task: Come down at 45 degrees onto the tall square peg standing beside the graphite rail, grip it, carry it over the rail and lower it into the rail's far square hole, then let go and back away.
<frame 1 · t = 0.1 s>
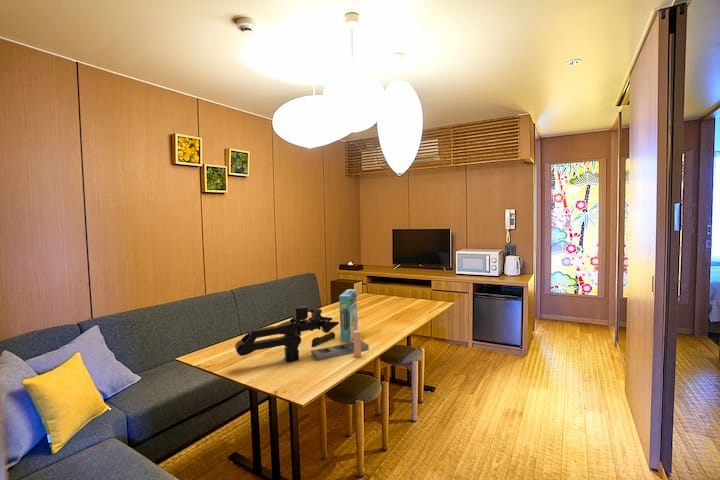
hand: (335, 320, 206), 17 cm above the table, tool horizontal, fingers open, 9 cm apart
game box: (349, 336, 231), on the table
rail: (340, 352, 204), on the table
peg: (357, 355, 199), on the table
hand tool: (323, 343, 221), on the table
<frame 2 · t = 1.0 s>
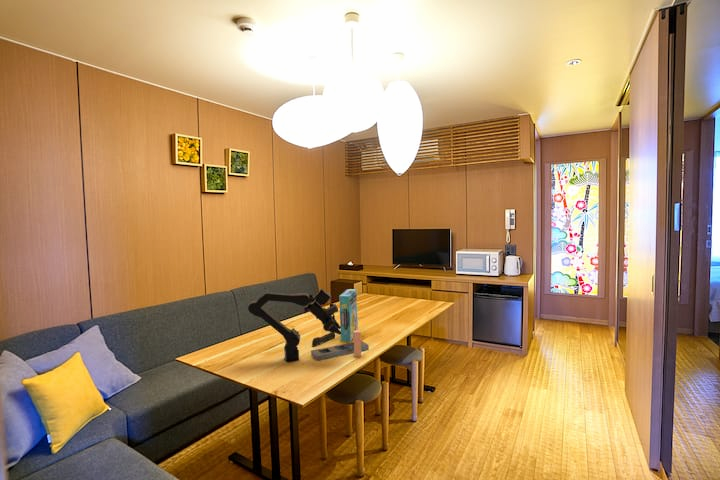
hand: (340, 330, 198), 14 cm above the table, tool tilted 45°, fingers open, 9 cm apart
nothing on the table moved.
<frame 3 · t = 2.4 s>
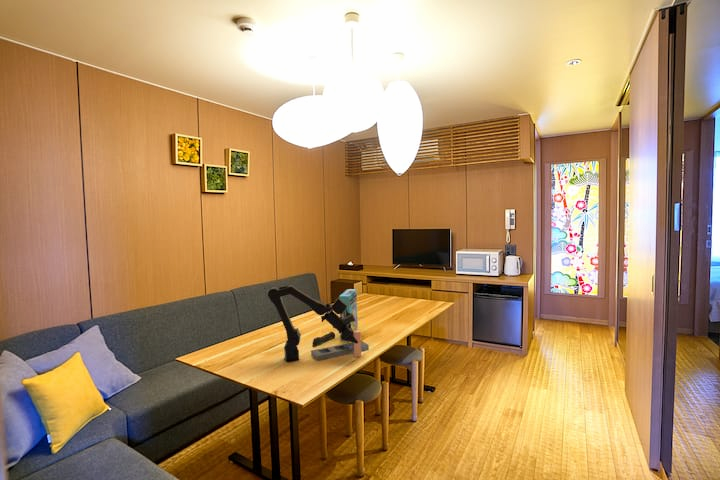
hand: (357, 339, 199), 8 cm above the table, tool tilted 45°, fingers open, 9 cm apart
nothing on the table moved.
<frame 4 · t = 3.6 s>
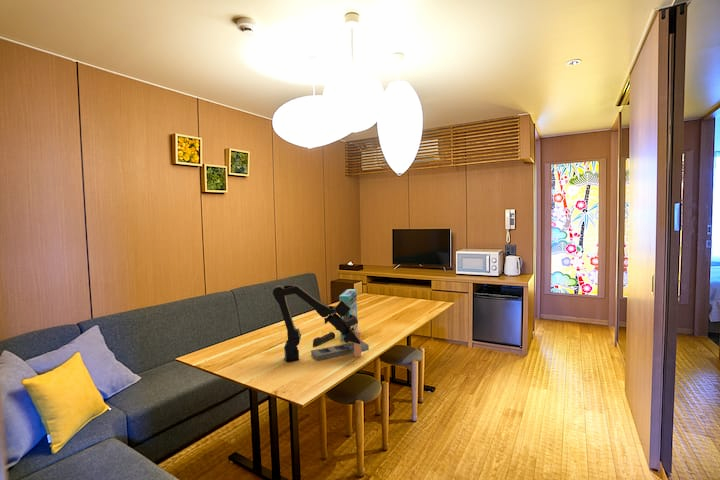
hand: (359, 342, 199), 7 cm above the table, tool tilted 45°, fingers closed on peg, 3 cm apart
peg: (357, 355, 199), on the table, touching gripper
everything else where it was.
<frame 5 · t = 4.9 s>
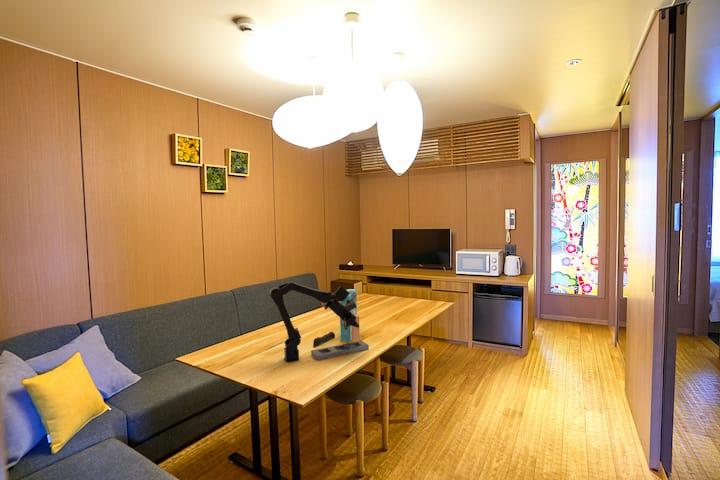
hand: (357, 325, 206), 14 cm above the table, tool tilted 45°, fingers closed on peg, 3 cm apart
peg: (355, 339, 206), point 6 cm above the table, touching gripper
everything else where it was.
when the fingers open (8 cm above the table, at t = 6.6 s): peg stays where it is, resting in rail.
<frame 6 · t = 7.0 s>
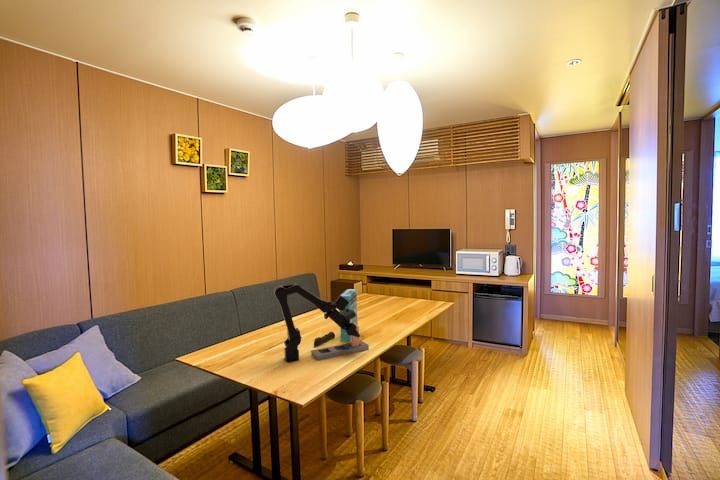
hand: (357, 334, 208), 8 cm above the table, tool tilted 45°, fingers open, 8 cm apart
peg: (355, 349, 208), resting in rail
everything else where it was.
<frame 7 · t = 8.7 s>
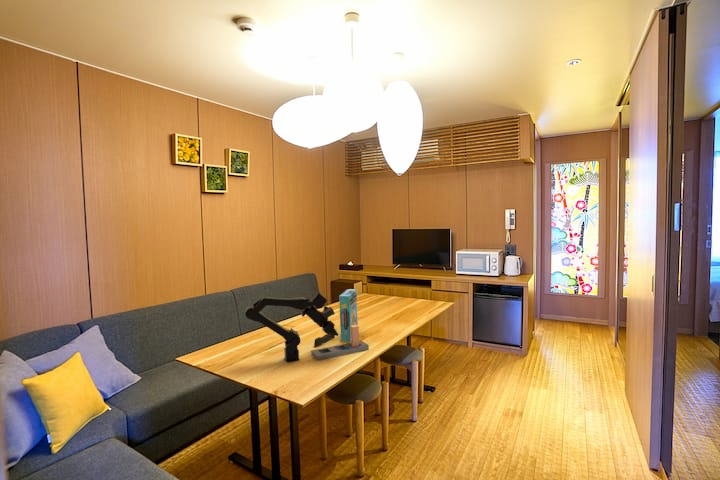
hand: (335, 332, 203), 11 cm above the table, tool tilted 45°, fingers open, 9 cm apart
nothing on the table moved.
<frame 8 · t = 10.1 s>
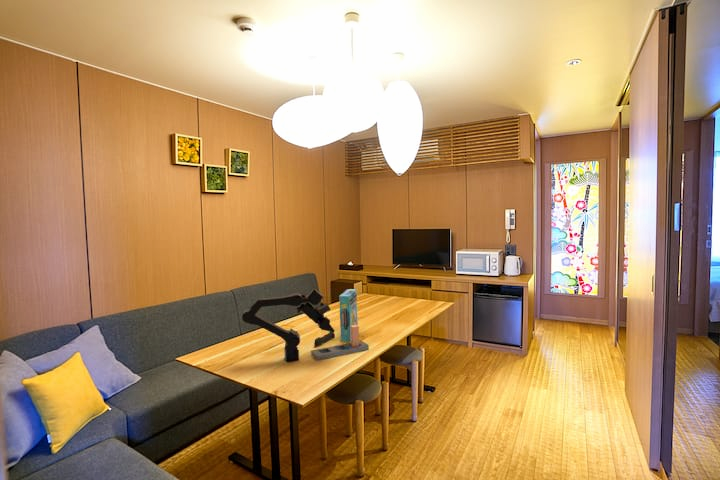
hand: (331, 329, 201), 14 cm above the table, tool tilted 45°, fingers open, 9 cm apart
nothing on the table moved.
at the end: peg 0.0 cm from the target spot on the rail, point 0.0 cm above the rail's base; peg tilted 0°; the gripper is holding nothing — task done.
